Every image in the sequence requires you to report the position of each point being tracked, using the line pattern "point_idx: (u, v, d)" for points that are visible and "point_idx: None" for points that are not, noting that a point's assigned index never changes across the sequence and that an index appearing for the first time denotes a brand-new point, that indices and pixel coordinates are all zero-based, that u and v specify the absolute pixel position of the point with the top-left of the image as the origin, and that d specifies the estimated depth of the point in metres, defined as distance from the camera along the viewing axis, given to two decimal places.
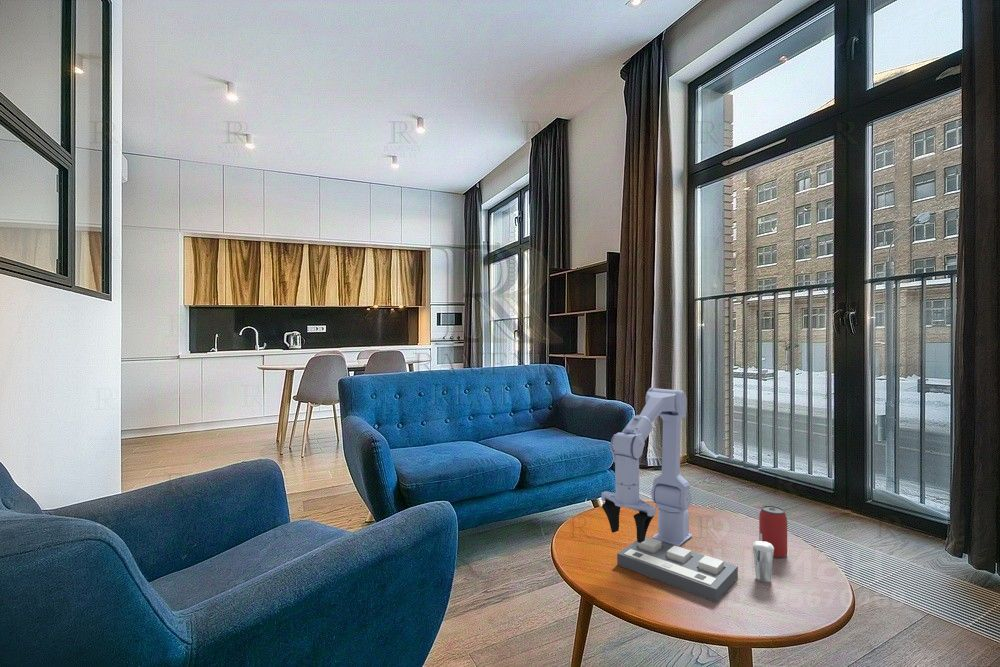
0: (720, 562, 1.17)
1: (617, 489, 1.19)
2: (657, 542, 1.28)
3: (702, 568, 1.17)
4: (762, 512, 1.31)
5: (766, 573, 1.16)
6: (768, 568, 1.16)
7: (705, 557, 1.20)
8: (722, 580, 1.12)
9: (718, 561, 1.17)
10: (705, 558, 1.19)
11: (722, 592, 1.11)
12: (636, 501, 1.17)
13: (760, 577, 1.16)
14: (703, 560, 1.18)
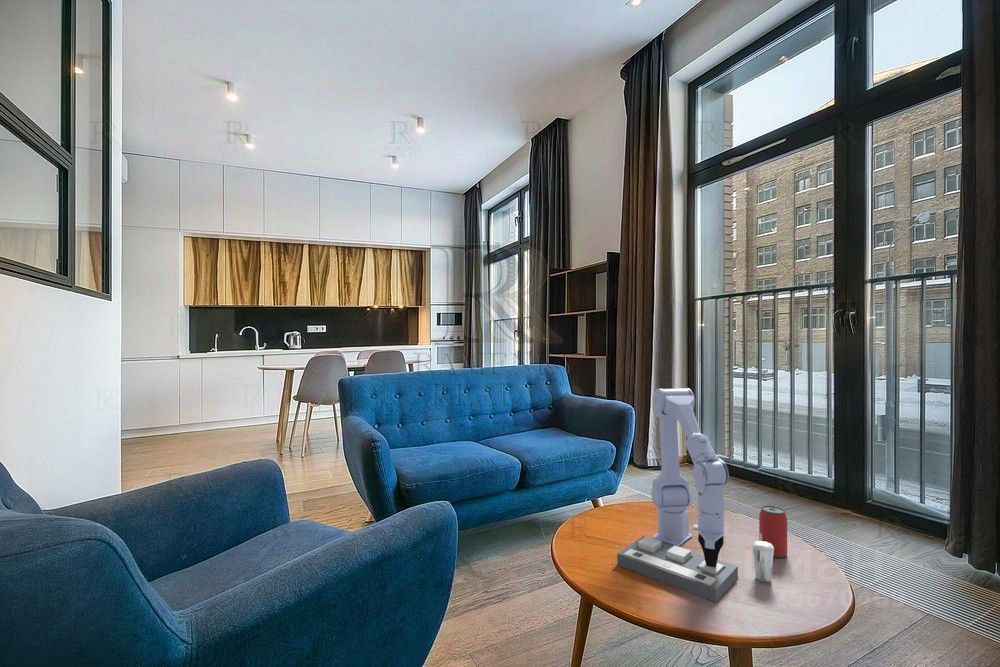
0: (720, 566, 1.17)
1: None
2: (657, 542, 1.28)
3: None
4: (762, 512, 1.31)
5: (766, 573, 1.16)
6: (768, 568, 1.16)
7: None
8: (722, 580, 1.12)
9: (718, 565, 1.17)
10: (705, 562, 1.19)
11: (722, 592, 1.11)
12: (709, 531, 1.15)
13: (760, 577, 1.16)
14: (703, 564, 1.18)
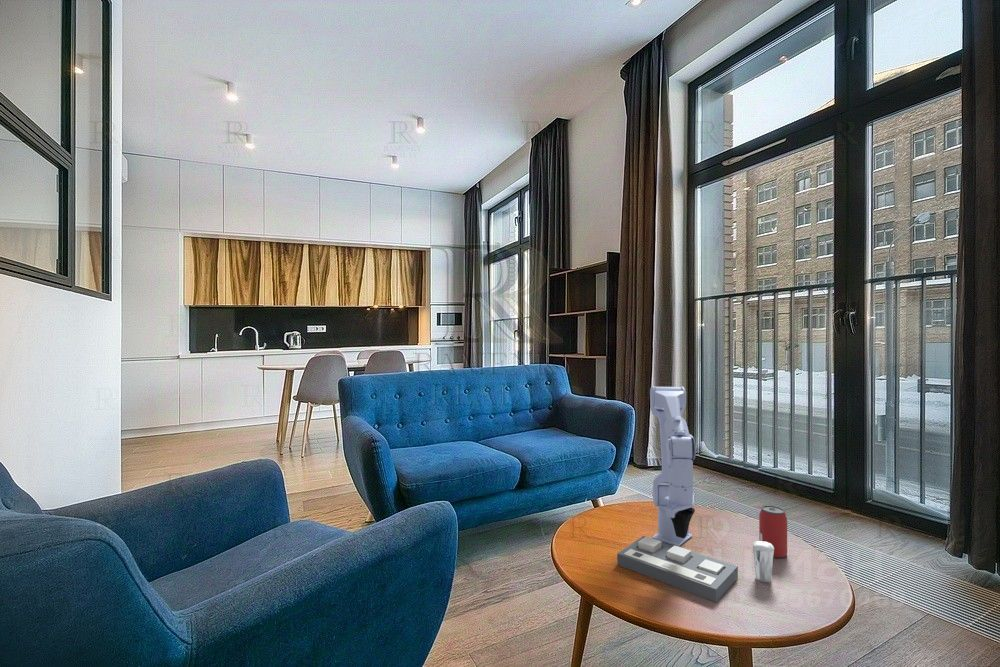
0: (720, 566, 1.17)
1: None
2: (657, 542, 1.28)
3: None
4: (762, 512, 1.31)
5: (766, 573, 1.16)
6: (768, 568, 1.16)
7: (705, 561, 1.20)
8: (722, 580, 1.12)
9: (718, 565, 1.17)
10: (705, 562, 1.19)
11: (722, 592, 1.11)
12: (675, 502, 1.21)
13: (760, 577, 1.16)
14: (703, 564, 1.18)
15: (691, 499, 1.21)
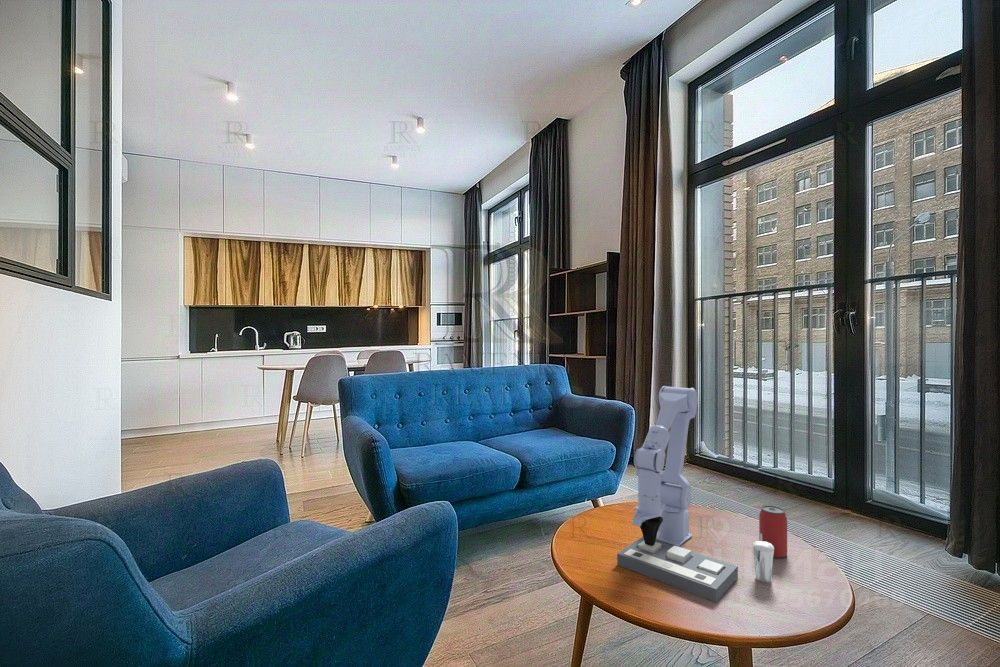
0: (720, 566, 1.17)
1: None
2: (657, 545, 1.28)
3: None
4: (762, 512, 1.31)
5: (766, 573, 1.16)
6: (768, 568, 1.16)
7: (705, 561, 1.20)
8: (722, 580, 1.12)
9: (718, 565, 1.17)
10: (705, 562, 1.19)
11: (722, 592, 1.11)
12: (643, 511, 1.27)
13: (760, 577, 1.16)
14: (703, 564, 1.18)
15: (658, 509, 1.26)
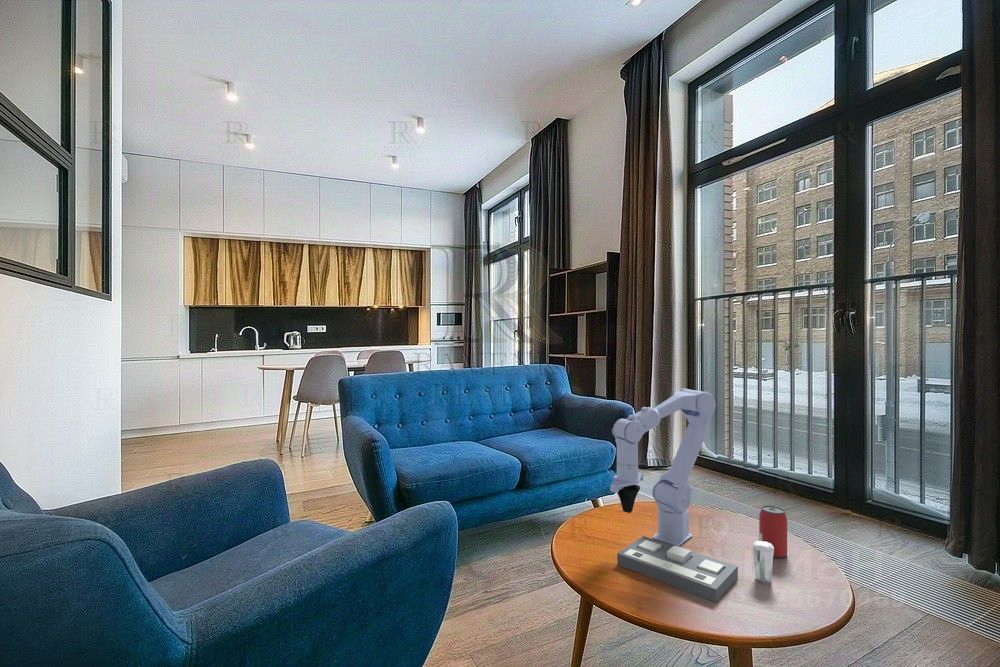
0: (720, 566, 1.17)
1: None
2: (657, 546, 1.28)
3: None
4: (762, 512, 1.31)
5: (766, 573, 1.16)
6: (768, 568, 1.16)
7: (705, 561, 1.20)
8: (722, 580, 1.12)
9: (718, 565, 1.17)
10: (705, 562, 1.19)
11: (722, 592, 1.11)
12: (621, 479, 1.32)
13: (760, 577, 1.16)
14: (703, 564, 1.18)
15: (635, 477, 1.32)
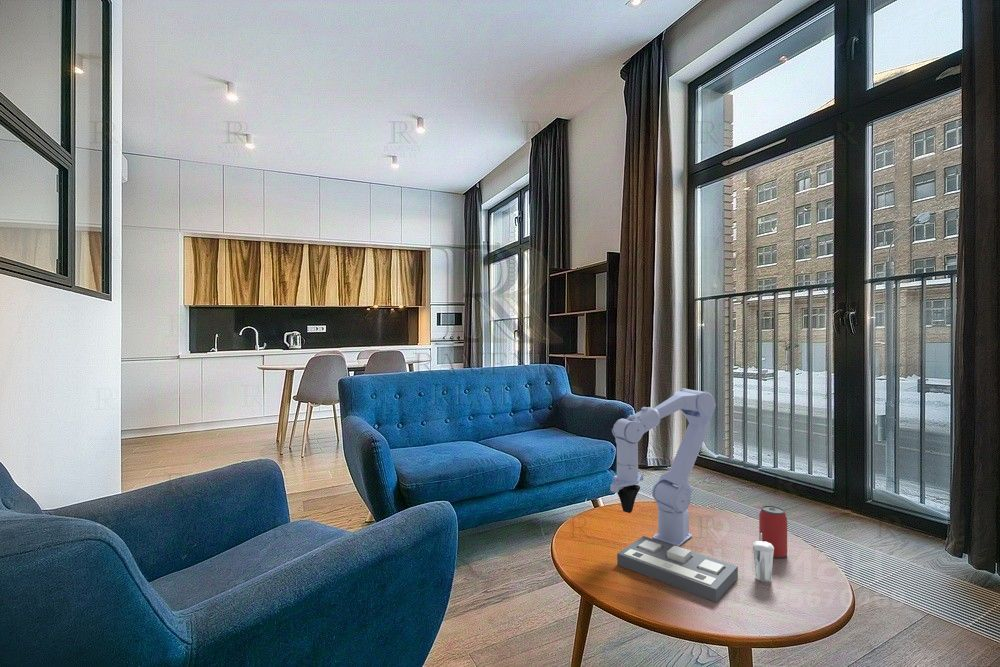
0: (720, 566, 1.17)
1: None
2: (657, 546, 1.28)
3: None
4: (762, 512, 1.31)
5: (766, 573, 1.16)
6: (768, 568, 1.16)
7: (705, 561, 1.20)
8: (722, 580, 1.12)
9: (718, 565, 1.17)
10: (705, 562, 1.19)
11: (722, 592, 1.11)
12: (621, 479, 1.32)
13: (760, 577, 1.16)
14: (703, 564, 1.18)
15: (635, 477, 1.32)
